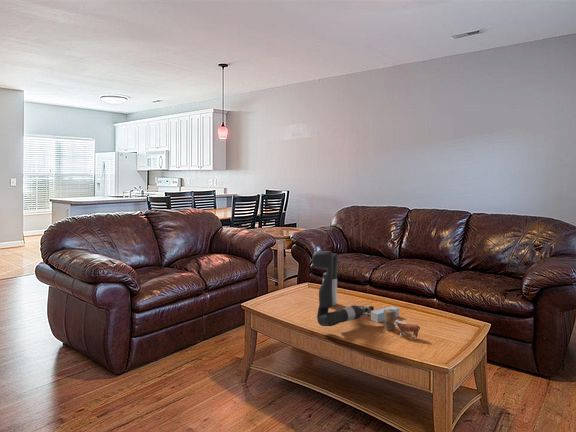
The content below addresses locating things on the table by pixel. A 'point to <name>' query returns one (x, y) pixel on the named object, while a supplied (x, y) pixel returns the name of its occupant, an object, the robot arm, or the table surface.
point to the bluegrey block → (382, 314)
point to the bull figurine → (407, 328)
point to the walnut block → (389, 319)
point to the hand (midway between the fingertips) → (372, 307)
